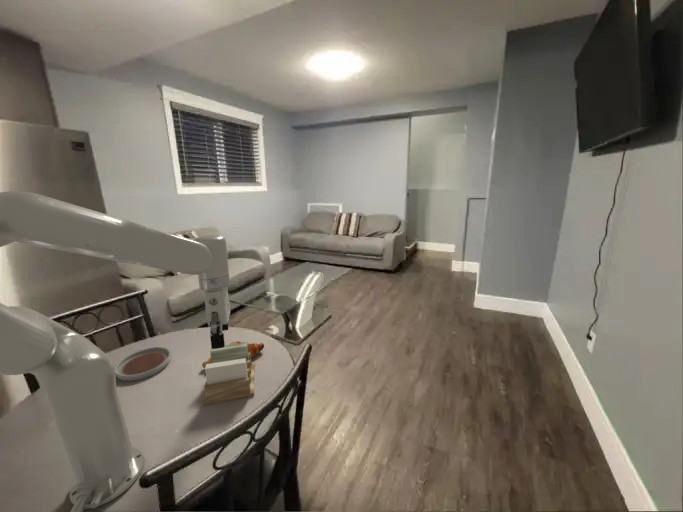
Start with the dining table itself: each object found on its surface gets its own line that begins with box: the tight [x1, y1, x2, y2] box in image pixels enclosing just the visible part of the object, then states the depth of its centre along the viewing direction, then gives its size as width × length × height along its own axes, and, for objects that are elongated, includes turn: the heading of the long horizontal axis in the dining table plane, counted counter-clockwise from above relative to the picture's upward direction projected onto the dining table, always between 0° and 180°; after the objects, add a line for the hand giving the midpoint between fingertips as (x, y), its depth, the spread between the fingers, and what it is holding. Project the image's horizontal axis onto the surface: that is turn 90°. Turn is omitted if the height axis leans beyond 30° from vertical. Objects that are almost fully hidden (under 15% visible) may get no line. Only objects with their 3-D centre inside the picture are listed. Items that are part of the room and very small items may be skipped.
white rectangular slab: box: [204, 358, 248, 385], centre depth 85 cm, size 2×11×10 cm, turn 105°
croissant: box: [201, 340, 265, 369], centre depth 101 cm, size 21×10×8 cm, turn 122°
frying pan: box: [114, 346, 173, 382], centre depth 96 cm, size 17×3×28 cm
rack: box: [202, 341, 256, 406], centre depth 89 cm, size 15×14×10 cm
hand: (220, 338), depth 81 cm, fingers open, 9 cm apart
